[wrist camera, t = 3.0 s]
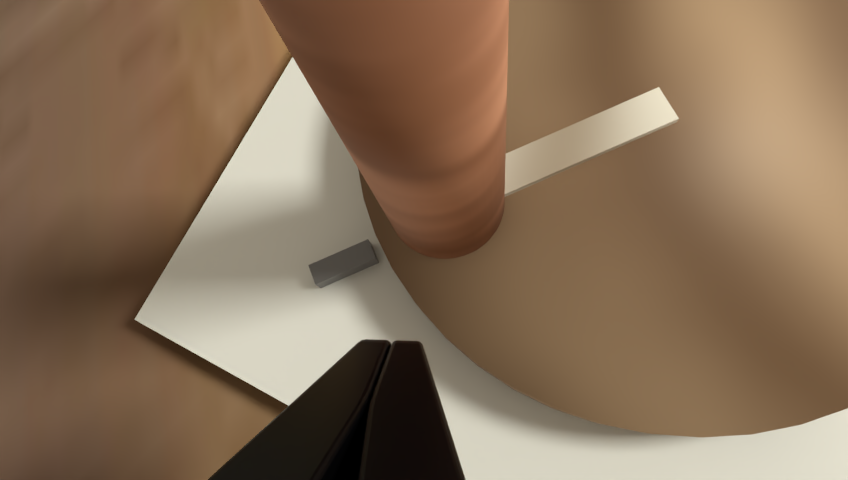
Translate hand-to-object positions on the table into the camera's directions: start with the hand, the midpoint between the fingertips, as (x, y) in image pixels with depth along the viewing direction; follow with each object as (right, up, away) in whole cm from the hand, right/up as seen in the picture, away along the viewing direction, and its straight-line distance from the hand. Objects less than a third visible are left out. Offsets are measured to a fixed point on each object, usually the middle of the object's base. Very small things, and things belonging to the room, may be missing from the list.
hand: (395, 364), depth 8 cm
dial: (+7, +5, +8) cm, 11 cm away
